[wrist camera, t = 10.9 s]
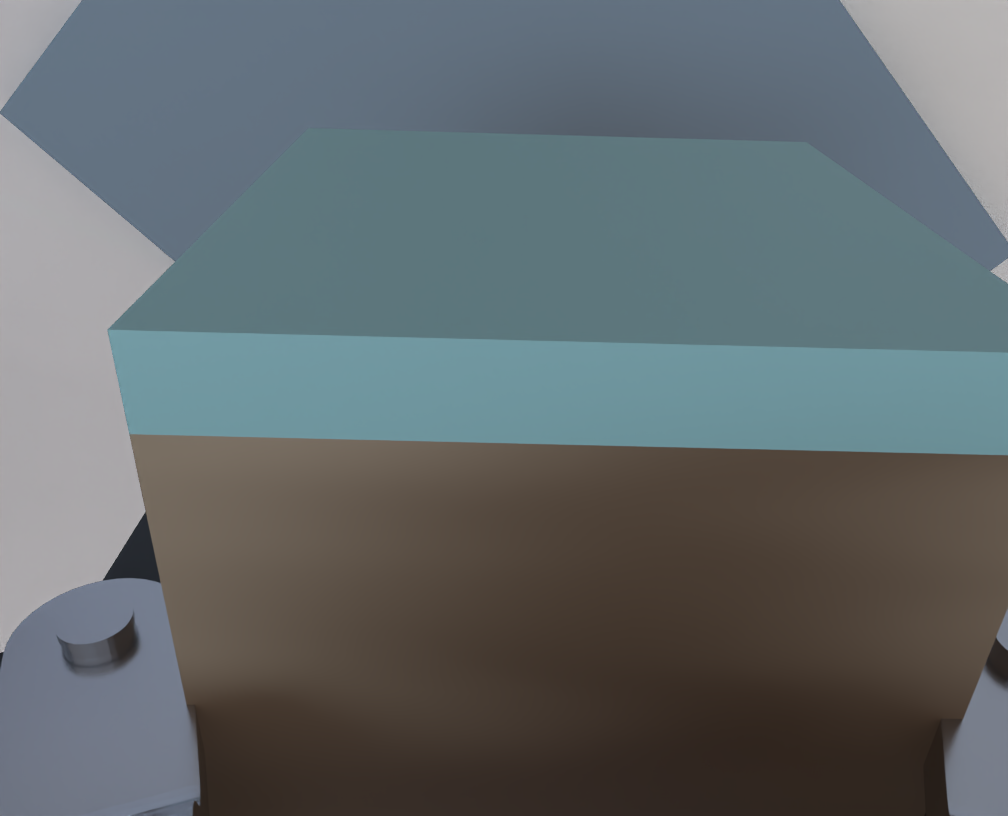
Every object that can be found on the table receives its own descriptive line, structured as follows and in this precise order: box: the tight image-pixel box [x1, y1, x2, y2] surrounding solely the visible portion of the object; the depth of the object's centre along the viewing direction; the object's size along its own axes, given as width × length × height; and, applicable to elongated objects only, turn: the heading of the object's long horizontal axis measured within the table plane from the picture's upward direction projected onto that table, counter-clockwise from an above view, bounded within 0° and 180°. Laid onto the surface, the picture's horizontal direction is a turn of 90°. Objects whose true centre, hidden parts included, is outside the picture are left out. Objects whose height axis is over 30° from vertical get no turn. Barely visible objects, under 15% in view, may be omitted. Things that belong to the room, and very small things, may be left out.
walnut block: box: [108, 128, 1008, 816], centre depth 9 cm, size 5×5×10 cm
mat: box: [0, 0, 1008, 271], centre depth 22 cm, size 20×16×1 cm
